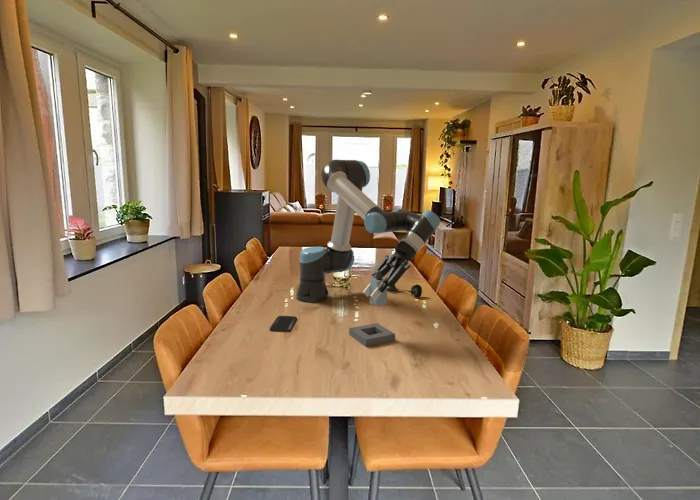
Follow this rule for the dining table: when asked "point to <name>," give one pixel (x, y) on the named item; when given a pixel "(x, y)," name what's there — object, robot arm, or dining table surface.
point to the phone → (283, 323)
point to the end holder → (367, 340)
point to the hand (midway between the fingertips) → (369, 296)
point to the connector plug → (373, 285)
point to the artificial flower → (415, 290)
